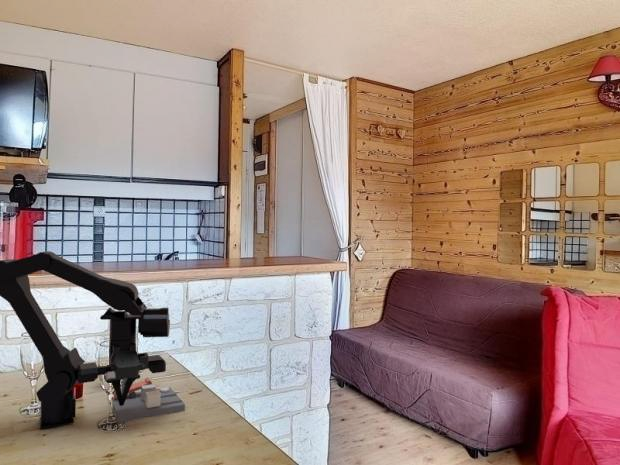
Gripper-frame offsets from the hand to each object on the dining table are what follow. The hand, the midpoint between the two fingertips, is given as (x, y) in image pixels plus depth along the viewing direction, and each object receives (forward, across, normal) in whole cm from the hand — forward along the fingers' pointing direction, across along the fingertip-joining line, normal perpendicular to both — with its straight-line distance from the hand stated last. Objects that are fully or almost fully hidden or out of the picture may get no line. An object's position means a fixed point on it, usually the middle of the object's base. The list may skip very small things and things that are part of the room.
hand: (121, 405), depth 107 cm
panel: (+3, +7, +4) cm, 9 cm away
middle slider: (+1, +7, +5) cm, 9 cm away
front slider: (+1, +7, 0) cm, 7 cm away
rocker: (0, +4, +9) cm, 10 cm away
